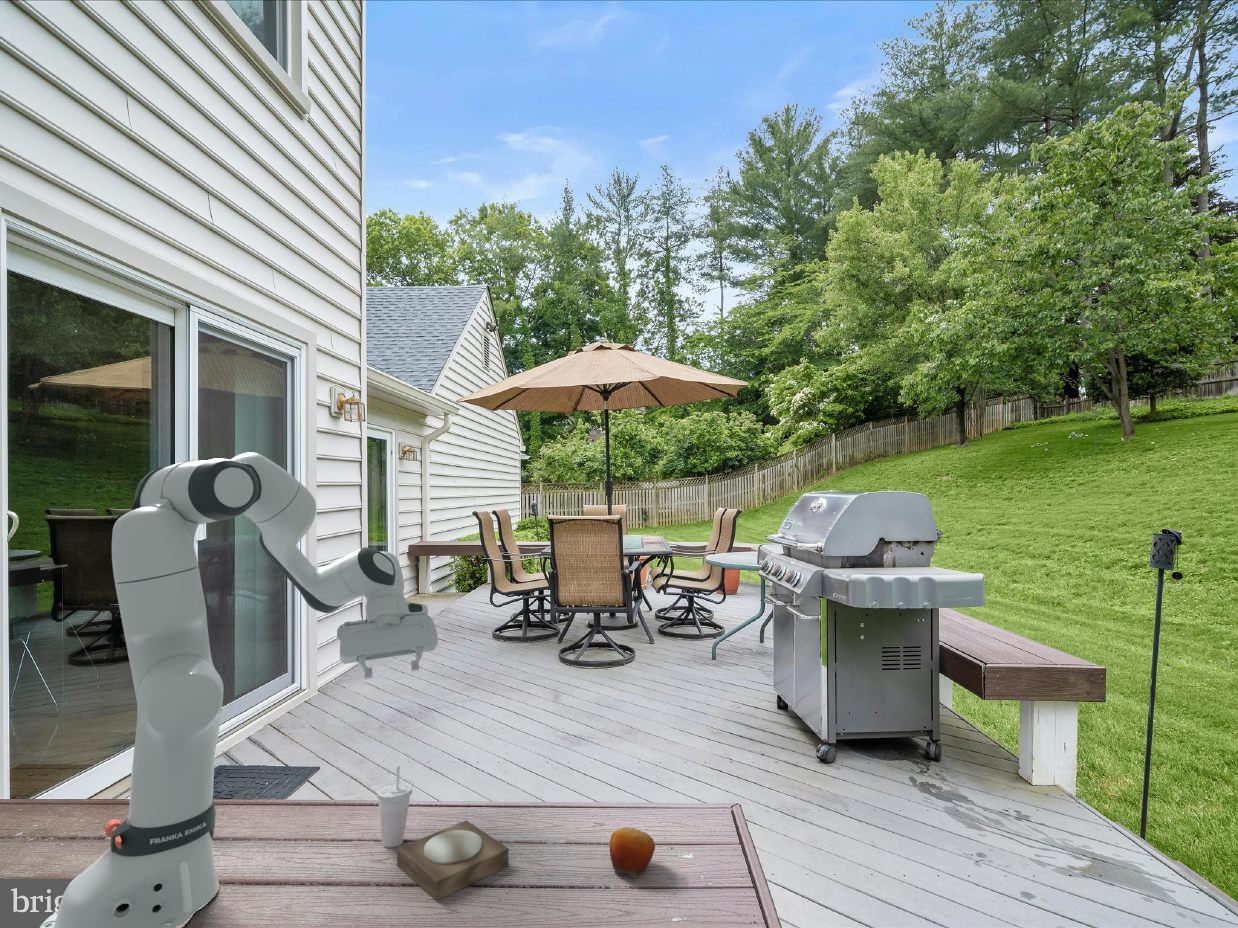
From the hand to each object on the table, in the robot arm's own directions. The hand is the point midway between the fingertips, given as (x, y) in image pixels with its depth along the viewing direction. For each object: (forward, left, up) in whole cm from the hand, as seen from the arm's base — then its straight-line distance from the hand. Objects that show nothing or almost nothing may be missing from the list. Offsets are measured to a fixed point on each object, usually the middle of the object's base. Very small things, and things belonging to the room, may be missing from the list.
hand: (392, 673), depth 131 cm
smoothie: (-5, -12, -29) cm, 31 cm away
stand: (-1, -27, -28) cm, 39 cm away
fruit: (+21, -50, -29) cm, 62 cm away
